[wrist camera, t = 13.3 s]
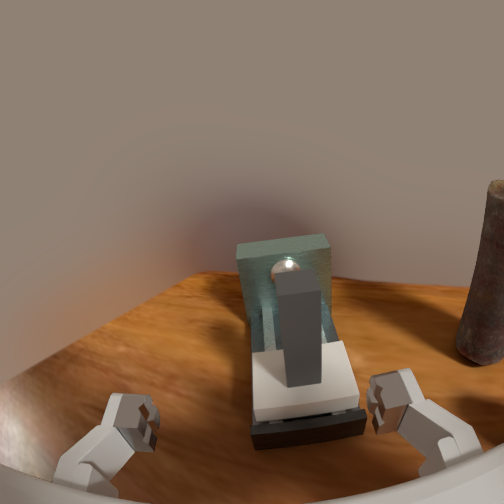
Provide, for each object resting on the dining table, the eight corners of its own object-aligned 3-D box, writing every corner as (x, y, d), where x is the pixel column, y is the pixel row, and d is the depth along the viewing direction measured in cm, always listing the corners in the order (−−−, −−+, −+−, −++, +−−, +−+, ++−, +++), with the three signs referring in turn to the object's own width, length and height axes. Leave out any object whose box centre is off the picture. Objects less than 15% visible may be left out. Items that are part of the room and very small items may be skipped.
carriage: (256, 421, 26) (232, 319, 20) (254, 366, 32) (235, 265, 27) (357, 407, 25) (371, 300, 20) (341, 354, 32) (344, 251, 26)
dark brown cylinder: (498, 380, 25) (557, 206, 16) (444, 361, 30) (482, 187, 21) (508, 339, 30) (549, 184, 21) (461, 323, 35) (489, 169, 26)
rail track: (249, 450, 26) (229, 385, 21) (248, 307, 46) (237, 244, 41) (368, 433, 25) (384, 363, 21) (325, 297, 45) (323, 233, 41)
